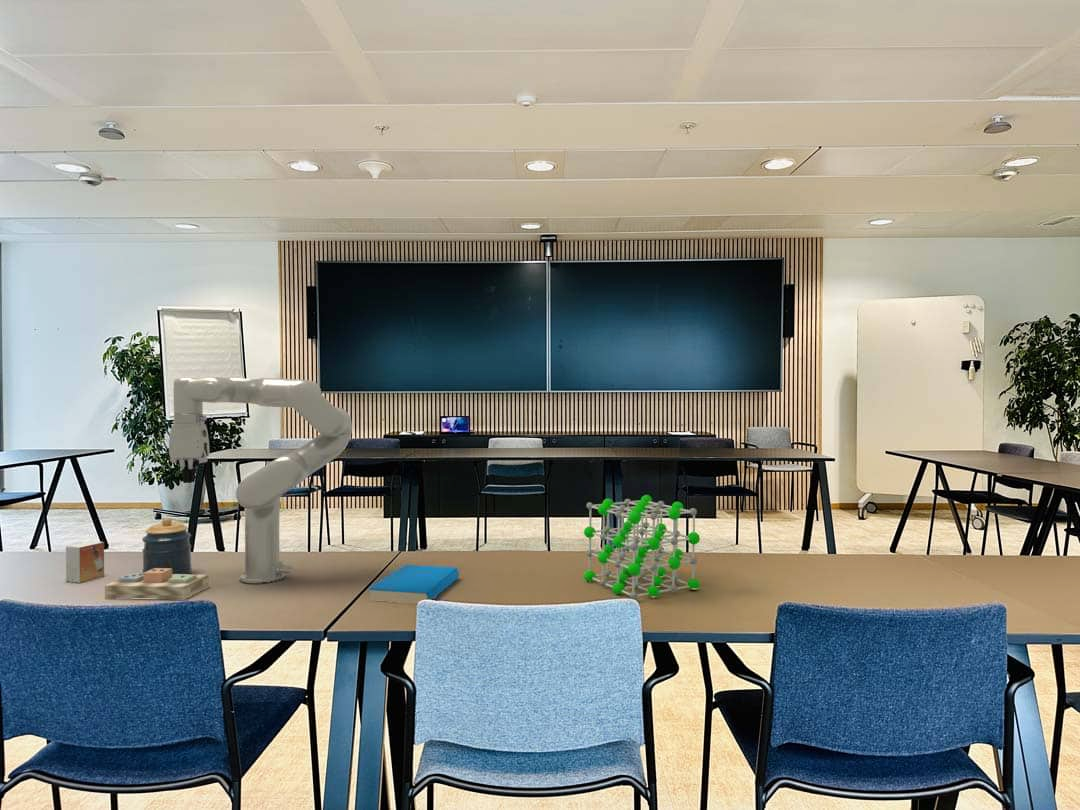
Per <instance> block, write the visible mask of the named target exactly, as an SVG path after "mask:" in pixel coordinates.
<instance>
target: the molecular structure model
mask: <svg viewBox="0 0 1080 810" xmlns="http://www.w3.org/2000/svg"><path fill="white" fill-rule="evenodd" d="M630 505H634V506H630ZM585 507H586V508H587V509H588V510H589V519H588V520H589V524H588V525H589V526H586V527H585V528H584V530H583V535H584V536H585V538H588V549H587V550H586V553H585V555H586V556H587V557H588V570H586V571H585V572H584V574H583V579H584V580H585V581H586V582H587V581H592V582H594V581H596V582H598V583H599V585H600V586H602V587H605V586H606V587H610V588H611V589H612V592H613V594H614V595H616V594H621V595H623V594H625V595H627V596H629V598H630V599H631V598H634V600H636V599H637V598H640V597H644V596H648V595H649V596H658V597H659V596H660V594H661V593H666V592H672V591H676V592H677V590H681V589H689V588H699V589H700V581H699V580H698V579H697V578H695V565H696V564H697V562H698V560H697V557H695V547H696V546H695V545H697V544H698V543H699V542H700V539H701V538H700V534H698V532H695V531H696V515H697V513H698V510H697V508H696V507H695V508H694V507H692V508H690V509H685V508H684V504H683V503H682V502H680V501H675V502H673V503H672V505H667V504H665V502H664V501H663V500H659V501H657V502H654V501H653V498H652V497H651V496H650V495H649V494H645V495H643V496H642V497H641V498H640V500H631V499H630V498H626V499H624V501H619V502H614V501H613V500H612V499H611V498H605V499H604V500H603V501H602V503H598V504H593V502H587V503H586V506H585ZM592 509H594V510H597V512H598V514H599V515H601V516H602V529H598V530H596V529H595V527H593V526H592V511H593V510H592ZM610 514H614V516H615V517H616V518H617V527H615V528H614V527H612V528H611V526H610ZM683 514H690V515H691V516H692V531H691V532H690V533H689V534H687V535H685V534H681V532H680V530H678V527H679V525H678V523H679V518H681V517H680V516H681V515H683ZM606 516H607V517H606ZM666 516H667V517H668V518H669V519H670V520H672V521H673V523H672V524H673V525H672V527H673V528H672V529H673V530H672V531H670V530H667V526H666V525H665V524H664V523H663V517H666ZM624 518H626V521H625V522H624V520H625V519H624ZM606 519H607V520H606ZM648 519H650V520H652V525H650V523H649V522H648ZM655 521H656V522H655ZM640 522H641V523H640ZM639 523H640V525H639ZM655 524H656V525H655ZM599 533H600V534H599ZM610 533H613V534H610ZM666 533H667V534H666ZM639 535H640V536H639ZM595 536H596V537H599V538H600V540H601V541H602V549H601V550H597V551H593V550H592V538H594V537H595ZM612 537H613V538H612ZM669 537H671V538H669ZM679 537H682V538H679ZM605 540H606V541H605ZM664 540H665V541H664ZM610 541H611V542H612V545H613V546H614V547H613V546H612V545H611V544H610ZM684 541H688V543H689V544H691V545H692V546H691V547H692V548H691V549H692V552H691V553H692V555H691V557H686V556H684V553H683V551H682V550H681V549H679V548H678V542H684ZM605 542H606V544H605ZM630 543H631V544H630ZM639 543H640V544H639ZM663 544H671V545H672V552H670V551H668V550H665V548H664V547H663V546H662V545H663ZM614 551H615V552H616V551H617V553H614ZM624 551H625V553H626V554H625V553H624ZM631 551H632V553H629V552H631ZM655 553H656V554H655ZM663 553H665V554H668V555H664V556H662V554H663ZM593 556H594V557H596V558H597V559H598V562H599V563H600V564H601V565H602V566H601V568H602V569H601V570H602V571H601V574H595V572H594V571H593V570H592V557H593ZM630 557H632V558H630ZM647 557H649V558H647ZM668 558H669V559H668ZM614 559H617V560H614ZM682 559H684V560H683V561H681V560H682ZM625 560H626V561H625ZM648 561H651V563H650V564H649V565H648ZM662 562H666V563H662ZM609 563H612V564H614V567H616V571H614V572H611V570H609V565H610V564H609ZM688 563H690V564H691V578H690V579H689V580H688V581H687V582H686V581H684V580H681V579H680V576H679V575H678V569H679V568H680V567H681V564H688ZM605 564H606V570H605ZM665 567H669V568H670V569H672V573H671V575H672V576H671V575H668V574H667V573H668V571H667V569H666V568H665ZM644 570H645V572H647V571H648V572H651V573H650V574H645V573H644ZM615 575H616V576H615ZM627 575H630V576H632V577H629V576H627ZM660 576H665V577H666V578H668V579H666V580H664V578H663V579H662V578H661V577H660ZM600 577H601V579H598V578H600ZM605 577H607V578H610V577H611V578H613V579H615V580H610V581H607V579H605ZM650 577H651V578H650ZM641 579H643V580H646V581H648V583H642V584H641V583H640V582H639V581H638V580H641ZM675 581H678V582H677V583H681V584H684V585H683V586H677V585H676V584H675V583H676V582H675ZM670 582H672V583H671V585H667V584H664V583H670ZM626 583H627V584H626ZM611 584H613V585H611ZM623 584H625V585H630V586H625V585H623ZM647 586H649V587H647ZM656 586H662V587H664V588H666V589H661V590H660V588H658V587H656ZM645 587H647V588H645ZM629 589H631V590H632V591H631V592H628V591H626V590H629ZM639 589H640V590H643V591H645V592H644V593H639V594H638V593H637V592H636V591H635V590H639ZM622 593H623V594H622ZM649 596H648V597H649Z"/></svg>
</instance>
